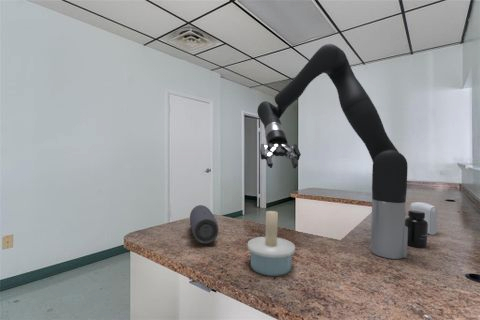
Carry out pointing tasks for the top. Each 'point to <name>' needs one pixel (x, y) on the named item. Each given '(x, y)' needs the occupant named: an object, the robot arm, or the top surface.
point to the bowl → (271, 265)
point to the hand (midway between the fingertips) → (283, 166)
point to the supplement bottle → (417, 229)
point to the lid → (271, 240)
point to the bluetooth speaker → (203, 224)
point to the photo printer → (427, 215)
